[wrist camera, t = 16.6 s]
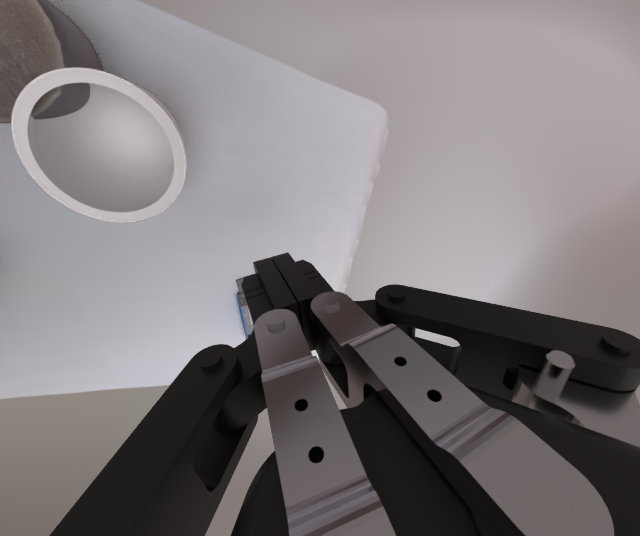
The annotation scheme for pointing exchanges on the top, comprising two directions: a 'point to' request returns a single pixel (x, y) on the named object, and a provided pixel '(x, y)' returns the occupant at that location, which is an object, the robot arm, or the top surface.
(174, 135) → the jar
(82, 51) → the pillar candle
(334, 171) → the top surface
